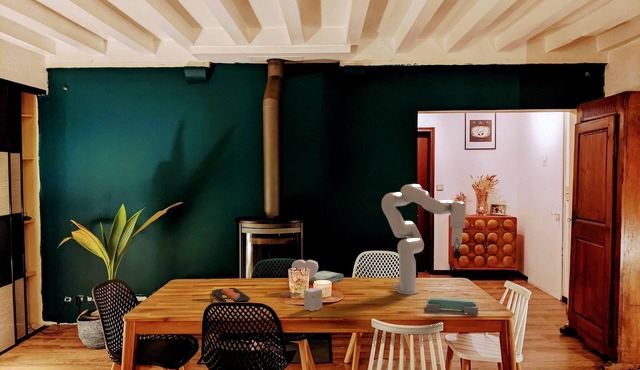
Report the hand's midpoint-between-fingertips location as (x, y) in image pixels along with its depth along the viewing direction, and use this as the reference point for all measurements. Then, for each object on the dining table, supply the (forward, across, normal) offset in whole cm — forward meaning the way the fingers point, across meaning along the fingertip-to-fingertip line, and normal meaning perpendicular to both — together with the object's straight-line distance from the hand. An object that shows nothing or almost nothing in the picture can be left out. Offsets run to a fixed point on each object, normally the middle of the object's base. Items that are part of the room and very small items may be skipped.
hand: (456, 256), depth 245 cm
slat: (+24, +13, -2) cm, 28 cm away
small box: (+27, +31, -70) cm, 82 cm away
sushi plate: (+29, +28, -128) cm, 135 cm away
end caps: (+26, +13, -2) cm, 29 cm away
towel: (+29, -28, -83) cm, 93 cm away
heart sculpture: (+28, -3, -87) cm, 91 cm away
